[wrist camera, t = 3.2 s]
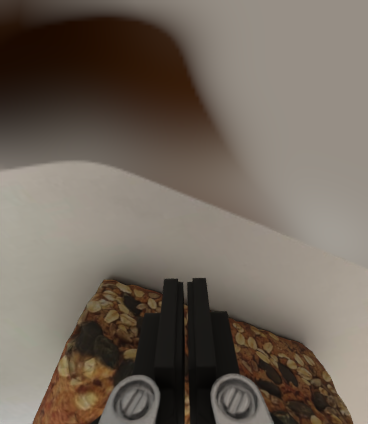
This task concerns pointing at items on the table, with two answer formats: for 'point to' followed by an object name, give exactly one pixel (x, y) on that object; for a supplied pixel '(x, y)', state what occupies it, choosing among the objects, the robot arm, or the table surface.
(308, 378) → the bread
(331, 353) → the table surface
